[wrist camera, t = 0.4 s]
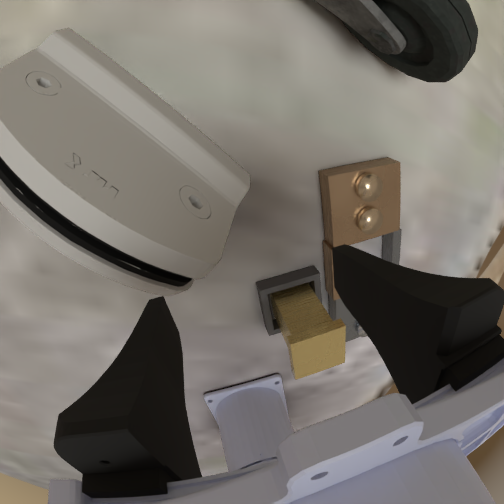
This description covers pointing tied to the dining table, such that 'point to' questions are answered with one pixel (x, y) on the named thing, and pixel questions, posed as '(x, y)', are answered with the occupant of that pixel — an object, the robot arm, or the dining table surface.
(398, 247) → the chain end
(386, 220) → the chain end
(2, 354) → the dining table surface
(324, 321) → the pin
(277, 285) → the gray square frame
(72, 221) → the off-white striped device
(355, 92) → the dining table surface
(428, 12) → the caster wheel
